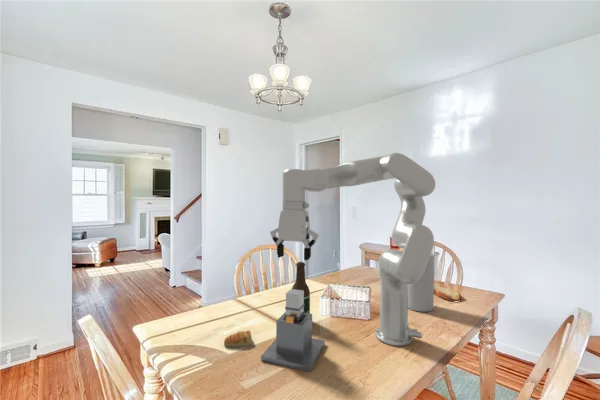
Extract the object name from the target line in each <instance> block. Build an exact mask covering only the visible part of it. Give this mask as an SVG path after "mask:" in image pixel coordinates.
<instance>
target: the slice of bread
mask: <svg viewBox="0 0 600 400" xmlns="http://www.w3.org/2000/svg"><path fill="white" fill-rule="evenodd" d="M434 295H435V296H436V295H437V296H436V297H438V296H439V297H438V298H440V297H441V298H440V299H442V298H444V299H443V300H445V299H446V300H445V301H447V300H450V301H449V302H451V301H459V300H461V301H462V300H463V299H462V295H461V294H460V292H458V291H456V290H454V289H451V288H446V287H443V286H439V285H434Z"/></svg>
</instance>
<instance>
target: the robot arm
mask: <svg viewBox="0 0 600 400" xmlns="http://www.w3.org/2000/svg"><path fill="white" fill-rule="evenodd" d="M391 179H392V180H393V179H395V180H394V190H395V192H396V194H397V195H398V197H399V200H400V210H399V215H398V216H397V219H396V221H395V225H394V227H393V230H392V233H391V241H392V243H393V244H394V245H395V246H397V247H398V248H402V249H403V251H401V250H398V249H392V248H391V249H386V250H385V251H383V252H382V253H381V254H380V255H379V257H378V264H377V265H378V273H379V279H380V280H379V281H380V283H379V284H380V294H379V295H380V296H379V297H380V299H379V300H380V306H379V307H380V308H379V309H380V310H379V327H378V328H376V330H375V337H376V338H377V340H379V341H381V342H382V343H385V344H388V345H391V346H397V347H398V346H399V347H402V346H407V345H409V344H412V342H413V337H414V338H417V339H422V337H423V336H422V335H423V334H422V332H421V331H418V329H417V328H411V327H409V325H410V324H409V321H408V319H409V317H408V316H409V308H408V285H407V284H414V283H416V282H418V281H419V280H420V279H421V277H422V276H423V273H424V271H425V268H426V266H427V263H428V260H429V257H430V254H431V253H432V251H433V249H434V243H435V238H434V233H433V232H432V230H431V228H429V227H428V226H426V225H424V224H423V223H424V220H425V215H426V204H425V201H424V198H423V197H427V196H430V195H431V194H432V193H433V192H434V191H435V189H436V179H435V178H434V176H433V175H432V173H431V172H429V171H428V170H427V169H425V167H422V166H421V165H420V164H419V163H417V162H415V160H413V159H411V158H410V157H408V156H407V155H405V154H403V153H399V152H392V153H390V154H389V153H388V154H386V155H381V156H375V157H369V158H364V159H358V160H353V161H349V162H344V163H342V164H340V165H337V166H331V167H326V168H314V169H313V168H312V169H300V168H288V169H285V170H283V172H282V210H280V214H279V218H278V219H279V220H278V227H277V228H275V229H273V230H272V231H270V232H269V234H270V236H271V238H272V240H273V242H274V243H275V246H276V254H277V258H279V259H280V258H282V257H284V254H285V251H284V250H285V245H284V242H285V241H288V242H297V243H300V242H302V244H303V245H304V249H303V250H304V251H303V252H304V254H303V260H304V261H308V260H310V258H311V257H312V247H313V246H314V245H315V243H317V241H318V238H319V236H320V235H319V234H318V233H317V232H315V231H314V230H313V229H311V224H310V217H309V211H308V210H306V209H307V208H309V207H310V203H307V202H306V191H307V192H309V193H317V192H323V191H325V190H327V189H334V188H343V187H355V186H360V185H365V184H369V183H375V182H380V181H386V180H391ZM311 236H312V239H311ZM310 239H311V240H310Z"/></svg>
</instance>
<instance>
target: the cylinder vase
mask: <svg viewBox="0 0 600 400" xmlns="http://www.w3.org/2000/svg"><path fill="white" fill-rule="evenodd" d="M434 281H435V254H434V253H432V252H431V254H430V257H429V260H428V263H427V266H426V268H425V271H424V273H423V276H422V277H421V279H420V280H419V281H418V282H416V283H414V284H407V285H408V310H410V311H411V310H412V311H415V312H421V313H425V312H426V313H427V312H432V311H433V309H434V297H435V296H434V295H435V294H434V286H435V285H434V284H435V282H434Z"/></svg>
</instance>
